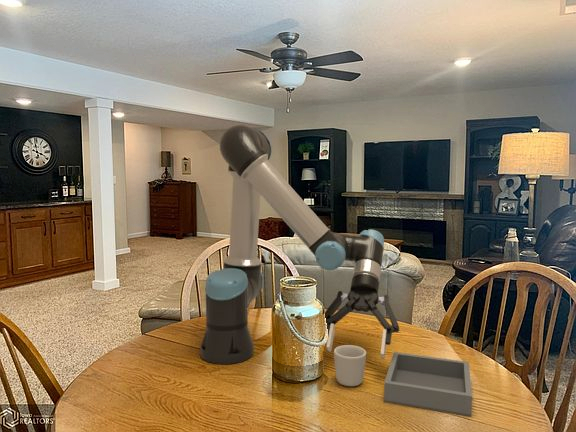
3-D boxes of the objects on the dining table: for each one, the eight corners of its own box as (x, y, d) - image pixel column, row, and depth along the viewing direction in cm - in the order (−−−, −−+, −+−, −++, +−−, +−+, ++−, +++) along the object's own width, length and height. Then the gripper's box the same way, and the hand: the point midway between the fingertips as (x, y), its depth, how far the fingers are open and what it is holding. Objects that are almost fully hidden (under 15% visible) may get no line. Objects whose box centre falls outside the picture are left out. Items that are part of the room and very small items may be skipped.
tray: (383, 401, 103) (384, 382, 103) (393, 368, 121) (393, 351, 120) (471, 416, 97) (472, 396, 97) (468, 379, 114) (468, 361, 114)
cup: (331, 369, 120) (332, 340, 119) (362, 370, 120) (362, 340, 119) (334, 389, 109) (334, 357, 108) (367, 390, 109) (368, 357, 108)
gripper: (412, 290, 125) (406, 365, 113) (324, 283, 134) (310, 352, 121) (411, 275, 120) (405, 352, 107) (319, 269, 128) (304, 340, 116)
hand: (355, 352), depth 114 cm, fingers open, 13 cm apart
